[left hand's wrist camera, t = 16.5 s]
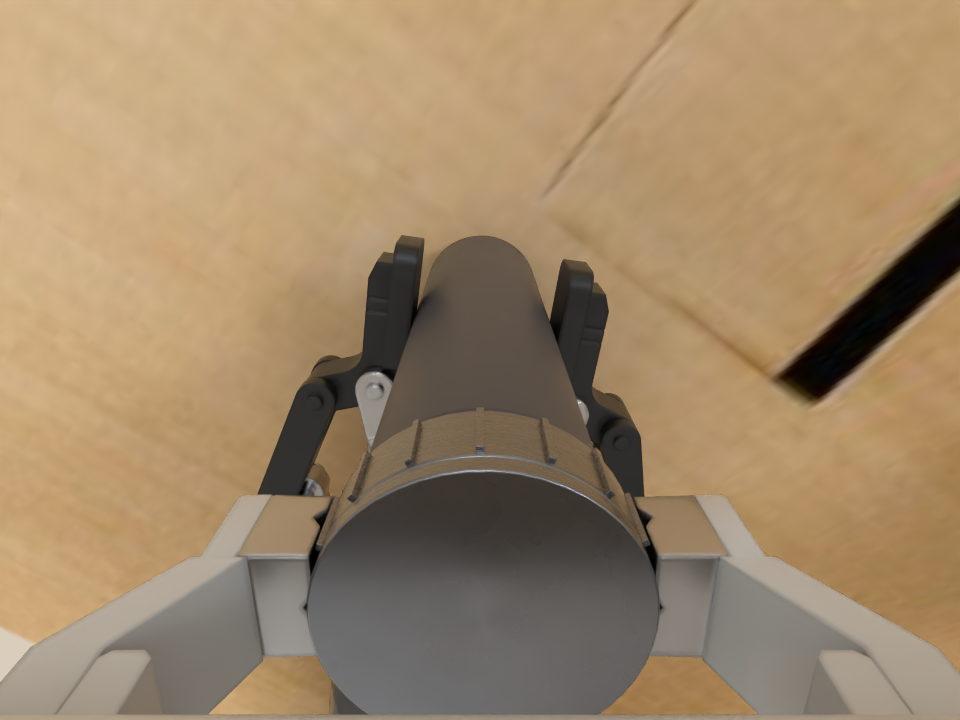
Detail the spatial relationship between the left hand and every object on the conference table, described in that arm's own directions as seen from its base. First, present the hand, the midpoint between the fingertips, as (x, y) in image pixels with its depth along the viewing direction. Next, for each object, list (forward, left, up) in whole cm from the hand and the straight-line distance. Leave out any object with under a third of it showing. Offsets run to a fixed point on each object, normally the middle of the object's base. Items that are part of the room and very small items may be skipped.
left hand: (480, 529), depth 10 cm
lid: (0, 0, +2) cm, 2 cm away
